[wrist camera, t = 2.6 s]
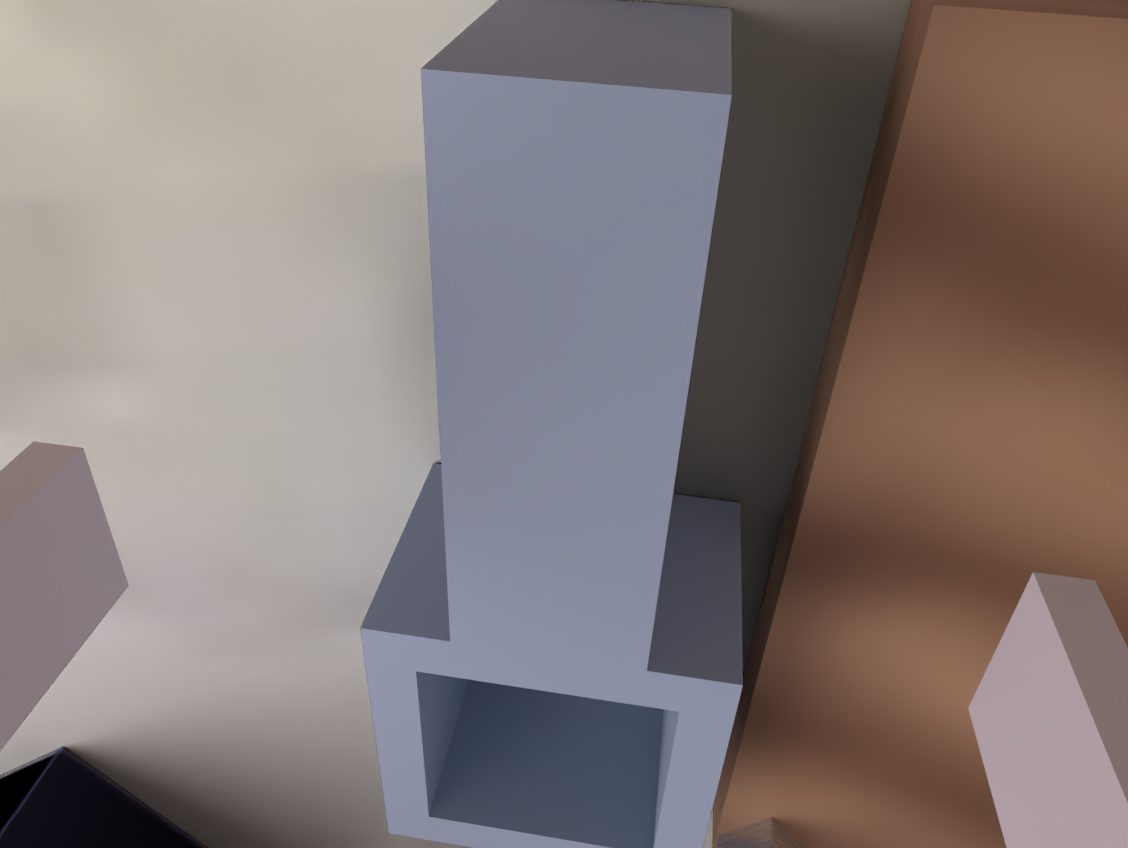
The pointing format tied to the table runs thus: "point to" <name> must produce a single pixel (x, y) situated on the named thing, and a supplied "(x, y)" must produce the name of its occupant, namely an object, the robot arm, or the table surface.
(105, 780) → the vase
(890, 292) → the board
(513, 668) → the link
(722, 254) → the table surface
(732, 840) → the bracket
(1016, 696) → the robot arm
